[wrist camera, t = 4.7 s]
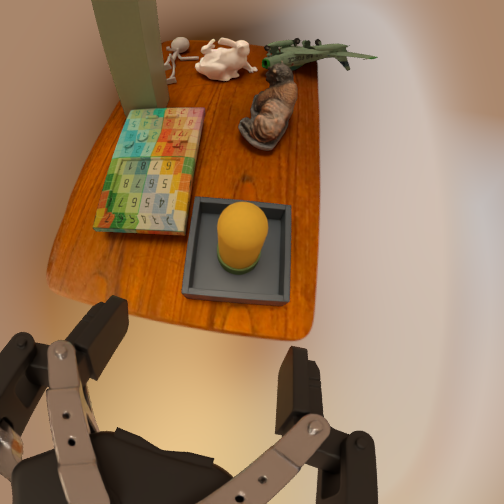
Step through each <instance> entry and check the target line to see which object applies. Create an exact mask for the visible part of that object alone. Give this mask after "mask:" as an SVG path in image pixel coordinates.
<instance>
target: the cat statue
mask: <svg viewBox="0 0 504 504" xmlns="http://www.w3.org/2000/svg"><path fill="white" fill-rule="evenodd" d="M266 76H267V77H266V81H268V82H269V83H270V86H269V87H270V88H268V89H266V90H265V91H261V92H260V93H259V94H258V95H255V96H254V99H253V103H252V107H251V109H250V110H251V119H249V118H248V117H246V118H243V119H242V120H241V121H240V124H239V126H238V127H239V130H240V132H241V134H242V135H243V137H244V138H245V139H246V140H247V141H248V142H249V143H250V144H251V145H252V146H254V147H255V148H258V149H260V150H265V151H270V150H272V149H273V148H274V147H275V146H276V144H277V143H278V142H279V140H280V139H281V137H282V136H283V134H284V133H285V131H286V129H287V126H288V121H289V118H290V117H291V115H292V113H293V108H294V105H295V102H296V100H297V95H298V94H297V85H296V84H295V83H294V82H293V73H292V70H291V69H290V68H289V67H288V66H286V65H285V64H284V63H283V61H281V64H280V63H277V64H275V65H273V66H272V67H268V72H267V73H266Z"/></svg>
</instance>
